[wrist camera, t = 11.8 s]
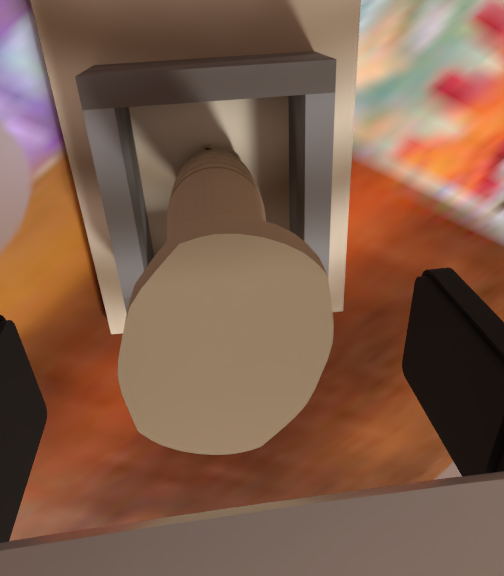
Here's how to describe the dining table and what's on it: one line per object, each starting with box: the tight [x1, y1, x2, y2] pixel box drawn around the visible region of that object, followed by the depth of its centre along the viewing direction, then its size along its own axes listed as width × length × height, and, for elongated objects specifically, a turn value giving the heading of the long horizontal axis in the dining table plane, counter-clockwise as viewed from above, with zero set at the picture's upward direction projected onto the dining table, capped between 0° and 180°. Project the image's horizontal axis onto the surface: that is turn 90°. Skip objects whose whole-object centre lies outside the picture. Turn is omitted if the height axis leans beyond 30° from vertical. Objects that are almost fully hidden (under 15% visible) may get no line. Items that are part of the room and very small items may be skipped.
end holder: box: [30, 0, 361, 334], centre depth 23 cm, size 18×14×5 cm
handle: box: [118, 144, 334, 455], centre depth 18 cm, size 5×6×15 cm
